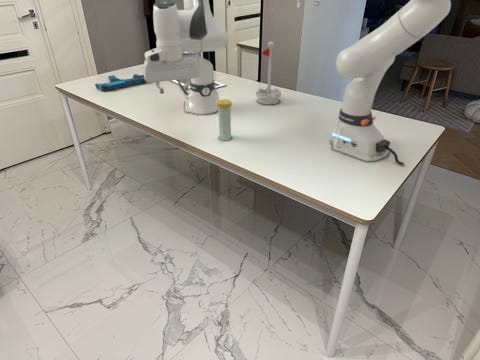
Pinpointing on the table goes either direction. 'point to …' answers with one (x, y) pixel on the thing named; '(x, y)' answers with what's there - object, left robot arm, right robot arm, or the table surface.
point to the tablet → (184, 82)
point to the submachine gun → (120, 82)
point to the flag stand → (268, 94)
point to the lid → (224, 103)
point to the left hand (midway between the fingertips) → (174, 91)
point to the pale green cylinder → (224, 123)
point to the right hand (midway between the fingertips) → (308, 6)
